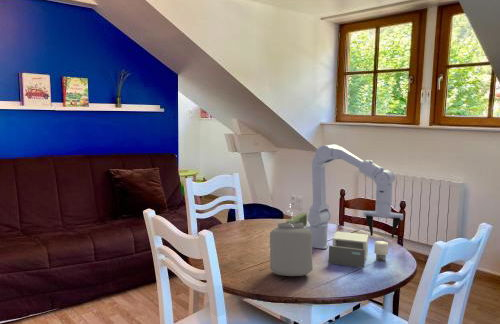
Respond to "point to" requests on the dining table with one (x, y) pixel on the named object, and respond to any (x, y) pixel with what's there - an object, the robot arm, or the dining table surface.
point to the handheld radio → (299, 219)
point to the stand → (380, 258)
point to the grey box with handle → (346, 256)
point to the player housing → (351, 241)
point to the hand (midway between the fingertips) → (381, 236)
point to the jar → (291, 249)
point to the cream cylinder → (381, 248)
